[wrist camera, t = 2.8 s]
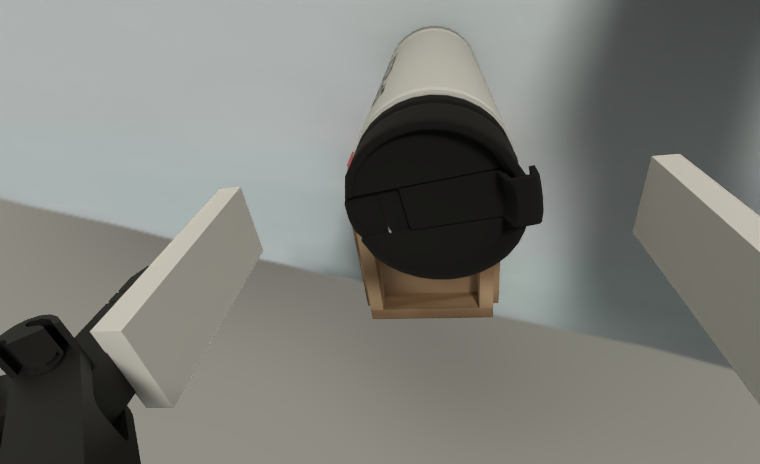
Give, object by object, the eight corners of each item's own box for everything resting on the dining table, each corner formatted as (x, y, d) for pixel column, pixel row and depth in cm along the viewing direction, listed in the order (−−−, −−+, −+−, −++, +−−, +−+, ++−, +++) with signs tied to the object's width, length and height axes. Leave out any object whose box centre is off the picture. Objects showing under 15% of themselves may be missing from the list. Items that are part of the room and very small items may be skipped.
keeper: (348, 190, 36) (341, 207, 33) (501, 180, 34) (507, 197, 31) (369, 300, 43) (365, 321, 40) (497, 297, 41) (501, 319, 38)
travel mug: (487, 103, 30) (553, 278, 14) (401, 124, 32) (368, 304, 15) (473, 11, 27) (538, 96, 11) (378, 40, 29) (306, 153, 12)
